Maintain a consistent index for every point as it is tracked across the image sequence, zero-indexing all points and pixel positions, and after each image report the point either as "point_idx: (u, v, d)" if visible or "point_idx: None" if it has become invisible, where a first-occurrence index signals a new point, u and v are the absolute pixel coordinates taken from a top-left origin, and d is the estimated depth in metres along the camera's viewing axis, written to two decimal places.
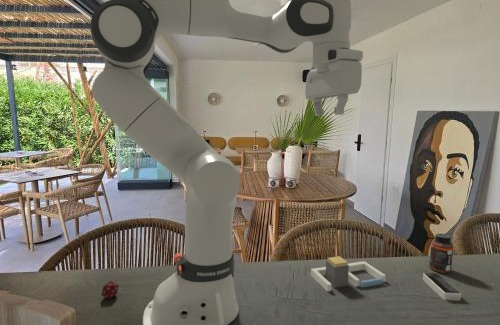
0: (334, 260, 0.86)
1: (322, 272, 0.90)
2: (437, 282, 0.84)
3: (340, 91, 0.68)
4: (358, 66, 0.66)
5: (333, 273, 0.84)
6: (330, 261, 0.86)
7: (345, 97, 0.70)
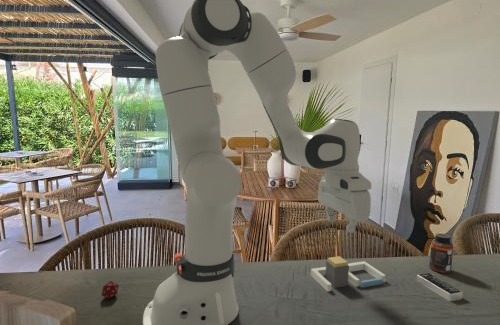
0: (334, 260, 0.86)
1: (322, 272, 0.90)
2: (436, 283, 0.83)
3: (352, 217, 0.77)
4: (367, 197, 0.75)
5: (333, 273, 0.84)
6: (330, 261, 0.86)
7: (356, 219, 0.78)
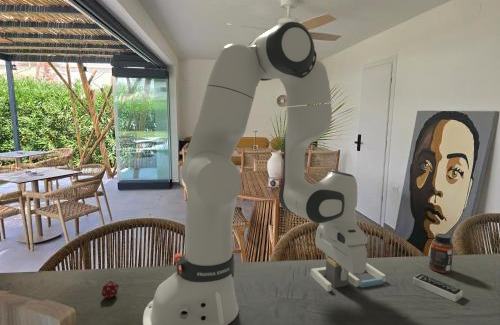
0: None
1: (322, 272, 0.90)
2: (435, 284, 0.83)
3: (348, 270, 0.78)
4: (363, 252, 0.77)
5: (333, 273, 0.84)
6: (330, 261, 0.86)
7: None
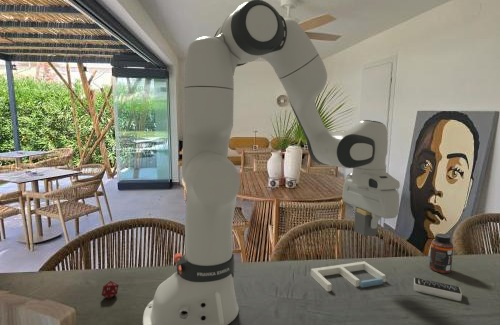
0: (364, 210, 0.87)
1: (322, 272, 0.90)
2: (437, 287, 0.81)
3: (380, 215, 0.79)
4: (396, 196, 0.78)
5: (363, 221, 0.85)
6: (359, 211, 0.87)
7: (379, 216, 0.83)
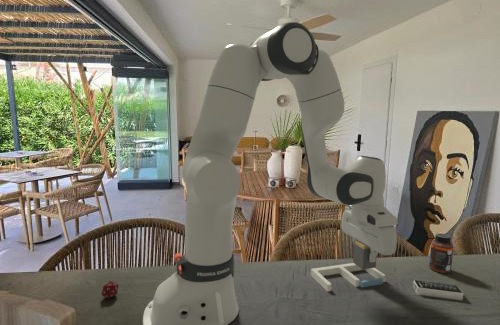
0: (362, 243, 0.88)
1: (322, 272, 0.90)
2: (439, 288, 0.81)
3: (378, 251, 0.80)
4: (393, 233, 0.79)
5: (362, 255, 0.86)
6: (358, 244, 0.88)
7: (377, 250, 0.84)
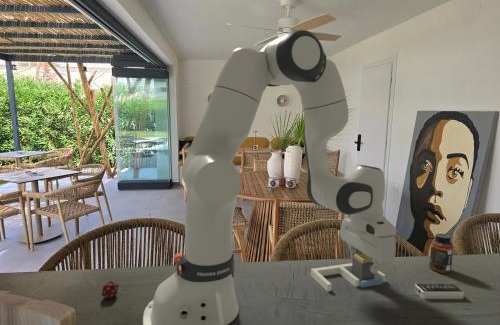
0: (361, 256, 0.88)
1: (322, 272, 0.90)
2: (441, 289, 0.80)
3: (377, 261, 0.81)
4: (392, 243, 0.79)
5: (360, 269, 0.87)
6: (357, 257, 0.89)
7: None
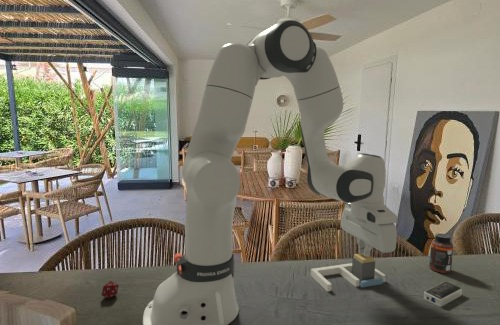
0: (361, 256, 0.88)
1: (322, 272, 0.90)
2: (447, 291, 0.79)
3: (378, 249, 0.80)
4: (393, 230, 0.79)
5: (360, 269, 0.87)
6: (357, 257, 0.89)
7: None
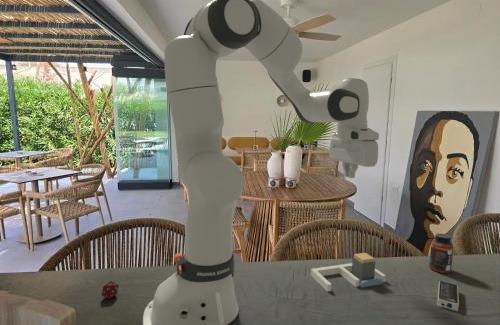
0: (361, 256, 0.88)
1: (322, 272, 0.90)
2: (452, 292, 0.79)
3: (361, 164, 0.86)
4: (375, 146, 0.85)
5: (360, 269, 0.87)
6: (357, 257, 0.89)
7: (356, 166, 0.92)
